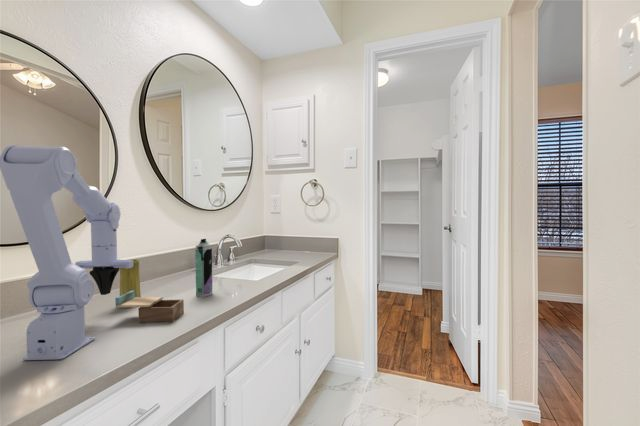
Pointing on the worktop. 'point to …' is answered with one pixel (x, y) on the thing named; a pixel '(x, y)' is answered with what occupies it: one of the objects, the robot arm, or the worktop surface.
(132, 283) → the vase
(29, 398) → the worktop surface
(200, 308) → the worktop surface
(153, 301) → the tan panel teal strip
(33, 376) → the worktop surface
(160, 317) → the box
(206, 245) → the spray can
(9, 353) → the worktop surface
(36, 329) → the robot arm
